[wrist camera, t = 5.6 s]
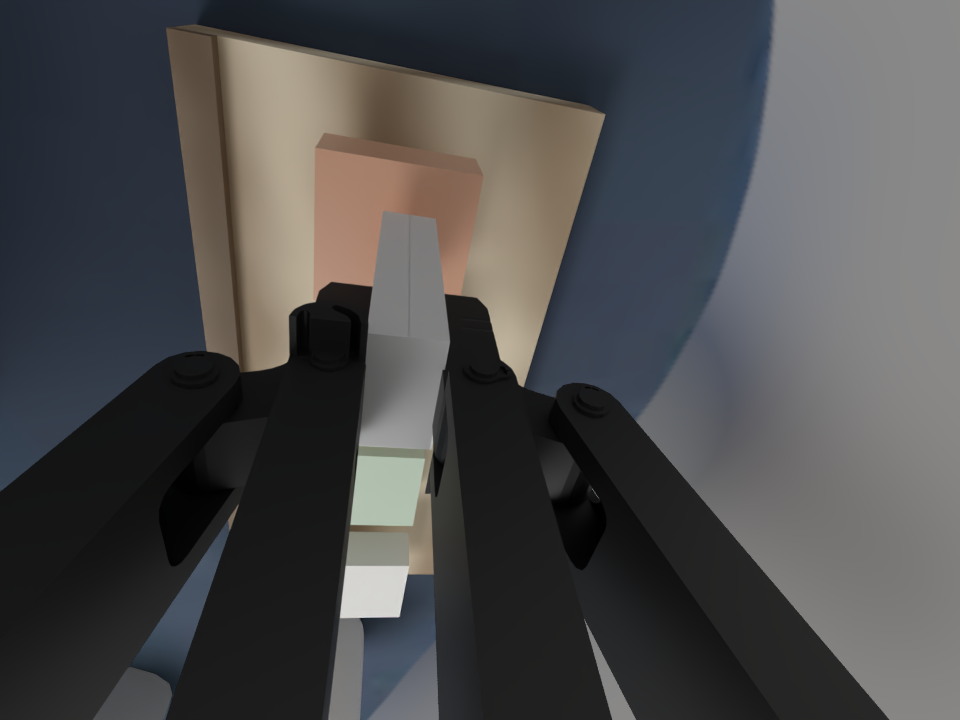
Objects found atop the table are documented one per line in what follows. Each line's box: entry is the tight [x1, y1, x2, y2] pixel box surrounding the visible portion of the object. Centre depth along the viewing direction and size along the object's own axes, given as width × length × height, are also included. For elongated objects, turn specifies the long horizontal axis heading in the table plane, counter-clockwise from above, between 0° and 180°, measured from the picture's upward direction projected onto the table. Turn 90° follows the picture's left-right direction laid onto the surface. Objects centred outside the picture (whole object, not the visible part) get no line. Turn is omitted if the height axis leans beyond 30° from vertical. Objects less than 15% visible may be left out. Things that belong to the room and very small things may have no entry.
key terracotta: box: [313, 133, 483, 300], centre depth 17 cm, size 5×5×2 cm
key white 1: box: [340, 532, 409, 618], centre depth 27 cm, size 5×5×2 cm
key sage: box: [350, 446, 425, 526], centre depth 25 cm, size 5×5×2 cm
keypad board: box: [166, 24, 605, 574], centre depth 25 cm, size 14×28×3 cm, turn 169°
